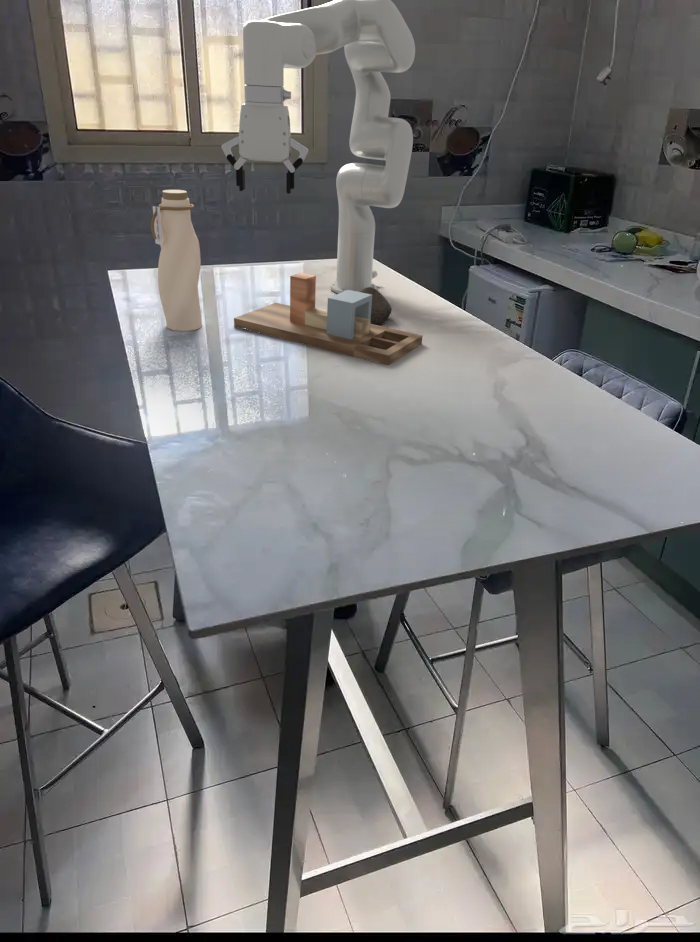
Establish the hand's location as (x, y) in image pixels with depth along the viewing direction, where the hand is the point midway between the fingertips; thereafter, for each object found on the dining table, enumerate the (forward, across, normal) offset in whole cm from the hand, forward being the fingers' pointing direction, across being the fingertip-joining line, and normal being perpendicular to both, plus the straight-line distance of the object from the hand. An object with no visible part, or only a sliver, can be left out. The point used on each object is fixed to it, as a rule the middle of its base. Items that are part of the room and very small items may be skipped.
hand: (265, 191), depth 141 cm
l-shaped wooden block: (+27, -14, +4) cm, 30 cm away
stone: (+29, -23, -10) cm, 39 cm away
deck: (+29, -14, +4) cm, 32 cm away
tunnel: (+27, -18, +7) cm, 33 cm away
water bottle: (+29, +19, +3) cm, 34 cm away
